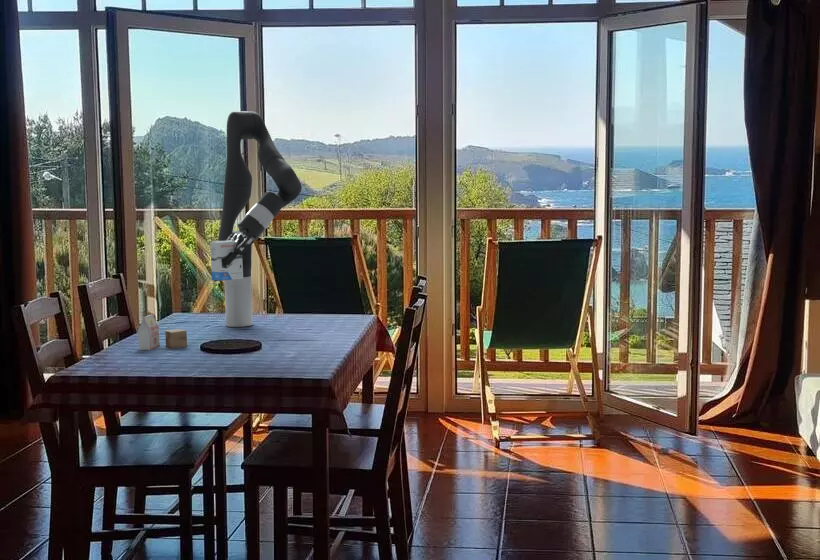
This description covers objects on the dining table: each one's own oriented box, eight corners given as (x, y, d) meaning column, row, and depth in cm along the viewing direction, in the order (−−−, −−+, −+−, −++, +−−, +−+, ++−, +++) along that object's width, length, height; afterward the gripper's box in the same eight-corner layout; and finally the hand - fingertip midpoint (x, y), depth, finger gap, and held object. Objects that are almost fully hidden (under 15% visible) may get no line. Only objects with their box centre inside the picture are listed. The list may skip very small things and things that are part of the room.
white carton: (138, 349, 294) (137, 317, 293) (148, 345, 300) (147, 314, 299) (150, 349, 293) (148, 317, 292) (159, 345, 300) (158, 314, 299)
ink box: (219, 281, 290) (217, 242, 289) (211, 280, 294) (209, 241, 292) (244, 278, 296) (242, 240, 294) (235, 277, 299) (234, 239, 298)
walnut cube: (165, 346, 299) (165, 330, 299) (181, 344, 302) (180, 328, 301) (171, 348, 295) (170, 332, 294) (187, 346, 298) (186, 330, 297)
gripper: (237, 212, 302) (203, 253, 297) (257, 214, 291) (222, 256, 285) (253, 228, 306) (220, 269, 301) (274, 230, 294) (239, 272, 289)
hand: (221, 262), depth 293 cm, fingers closed on ink box, 5 cm apart
